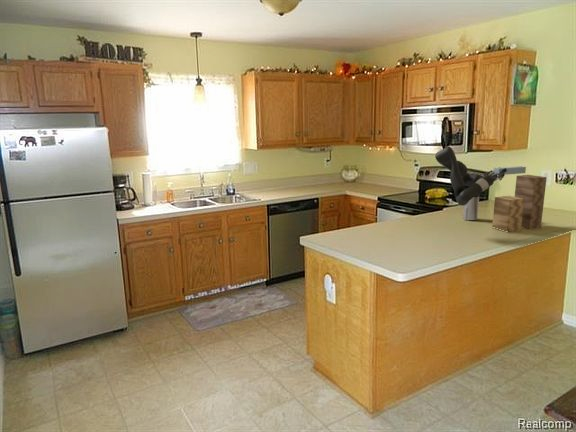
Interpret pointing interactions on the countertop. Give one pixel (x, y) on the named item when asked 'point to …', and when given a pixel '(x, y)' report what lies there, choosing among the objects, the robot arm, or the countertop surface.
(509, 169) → the bar
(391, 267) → the countertop surface
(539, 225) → the post
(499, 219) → the block
